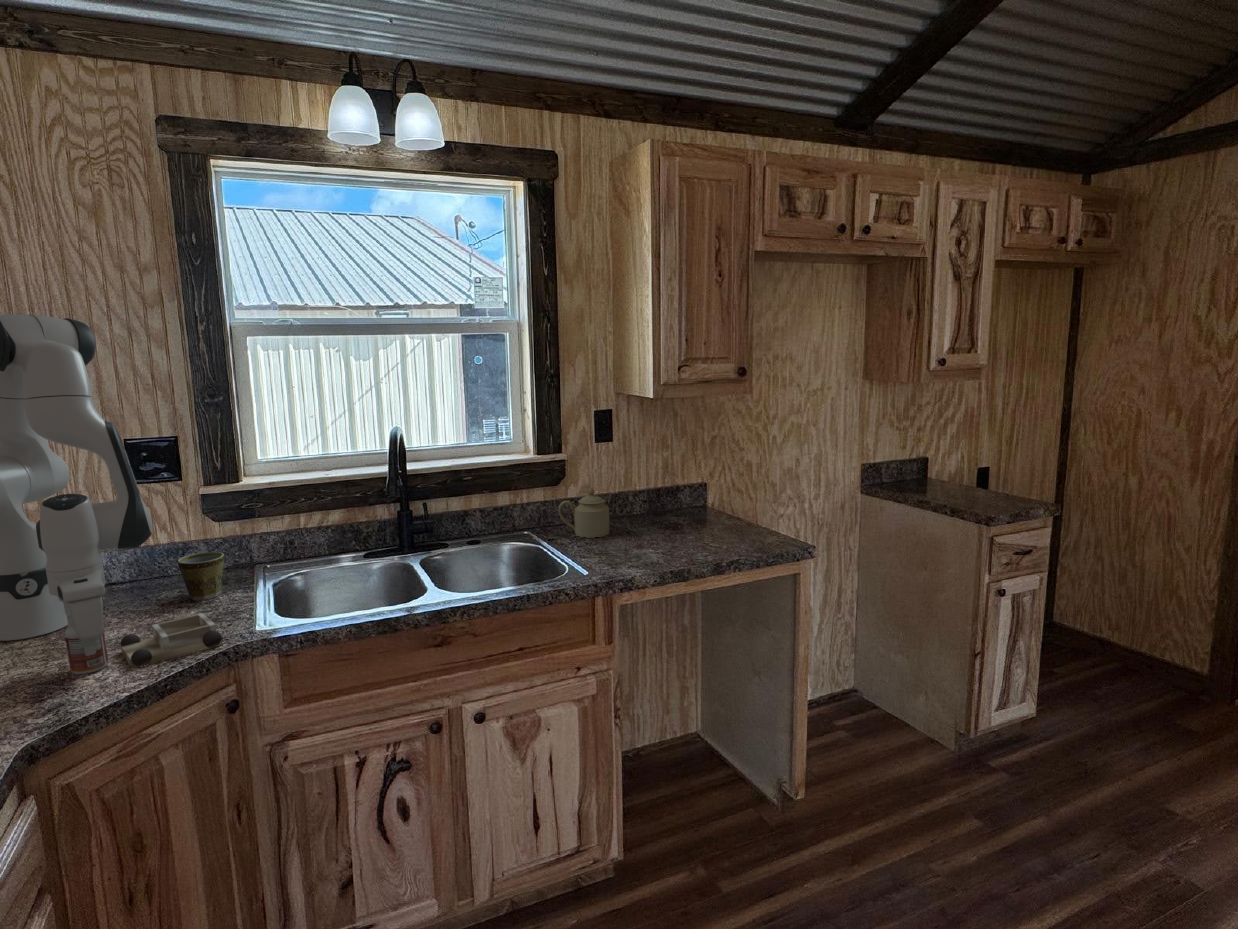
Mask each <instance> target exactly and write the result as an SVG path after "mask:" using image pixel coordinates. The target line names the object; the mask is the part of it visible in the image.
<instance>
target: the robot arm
mask: <svg viewBox="0 0 1238 929" xmlns="http://www.w3.org/2000/svg"><path fill="white" fill-rule="evenodd" d="M96 343H97V342H96V338H95V335H94V333H93V331H92V330H91V328H90V327H89V326H88V325H87V324H86V323H84V322H83V321H80V320H77V319H72V318H67V317H65V318H59V317H54V316H47V315H40V314H29V313H28V314H0V641H1V642H2V641H6V642H7V641H17V640H24V639H29V638H35V637H39V636H42V635H45V634H49V633H53V632H55V631H57V630H60V629H63V628H65V627H67V626H69V625H68V622H67V617H68V616H69V615H70V617H71V619H72V625H73V628H74V630H75V632H76V634H77V635H78V637H79V639H80V640H81V641H82V643H83V650H84V654H85V655H86V656H89V655H93V654H95V653H96V646H95V644H96V638H97V637H101V636H102V634H103V628H104V605H103V604H104V603H103V598H102V597H103V596H104V595H105V594H106V587H105V585H106V575H105V570H104V562H103V558H102V556H101V554H100V553H101V552H102V551H109V550H114V549H115V550H116V549H117V550H122V549H123V550H124V549H126V550H127V549H137V548H139V547H141V546H142V545H144V543H145V542H146V541H147V540H148V539H149V538H150V537H151V535H152V533H153V527H154V526H153V519H152V516H151V513H150V511H149V509H148V507H147V505H146V504H145V502H144V500H143V498H142V495H141V492H140V489H139V486H138V484H137V481H136V477H135V475H134V472H133V471H134V470H133V469H132V468H133V467H132V466H131V464H130V460H129V457H128V454H127V452H126V448H125V446H124V443H123V441H122V438H121V435H120V433H119V431H118V429H117V428H116V426H115V425H114V423H113V422H110V421H107V420H105V419H103V417H102V416H101V415H100V414H99V412H98V411H97V408H96V406H95V403H94V398H93V390H92V387H91V381H90V377H89V374H88V370H87V368H86V366H87V365H88V364H90V362H91V361H93V359H94V358H95V356H96V355H95V354H96ZM48 441H50V442H52V443H55V444H60V445H64V446H68V447H72V448H77V449H81V450H85V451H89V452H91V453H93V454H95V455H98V457H100V458H101V459H102V460H103V461H104V463H105V465H106V467H107V470H108V473H109V476H110V479H111V482H112V484H113V487H114V490H115V494H116V498H115V499H114V500H112V501H105V502H103V501H102V502H97V503H96V502H95V503H92V502H91V501H90V498H89V497H88V496H87V495H85V494H79V493H64V494H58V495H55V494H57V493H59V492H61V491H63V490H64V489H65V488H66V487H67V485H68V484H69V481H70V470H69V467H68V465H67V463H66V462H65V460H64V459H63V458H62V457H61V456H60V455H58V454H57V453H55V452H54V451H53V450H52V449H51V447H50V446H49V443H48ZM51 496H52V497H51ZM41 500H44V501H42V502H41V503H40V509H39V519H38V521H37V522H34V521H30V520H29V519H28V517H27V516H26V514H25V512H24V510H23V505H24V504H29V503H33V502H38V501H41ZM100 551H101V552H100Z"/></svg>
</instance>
